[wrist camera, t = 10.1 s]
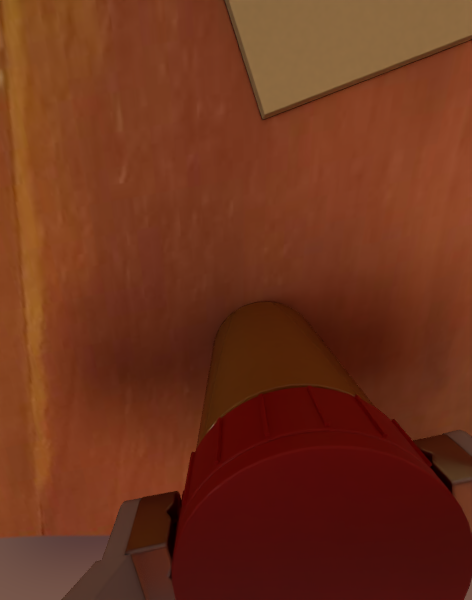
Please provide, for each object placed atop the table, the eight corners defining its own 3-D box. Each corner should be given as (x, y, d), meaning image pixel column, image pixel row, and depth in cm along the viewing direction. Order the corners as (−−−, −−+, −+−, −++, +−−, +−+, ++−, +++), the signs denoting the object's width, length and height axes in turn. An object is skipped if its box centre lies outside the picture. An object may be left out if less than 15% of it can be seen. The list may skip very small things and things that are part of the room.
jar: (298, 286, 18) (413, 389, 7) (329, 379, 20) (471, 601, 8) (196, 323, 19) (137, 482, 7) (234, 411, 20) (237, 667, 8)
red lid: (168, 558, 10) (147, 663, 7) (210, 363, 8) (201, 416, 6) (373, 591, 10) (415, 700, 8) (447, 410, 9) (528, 478, 6)
